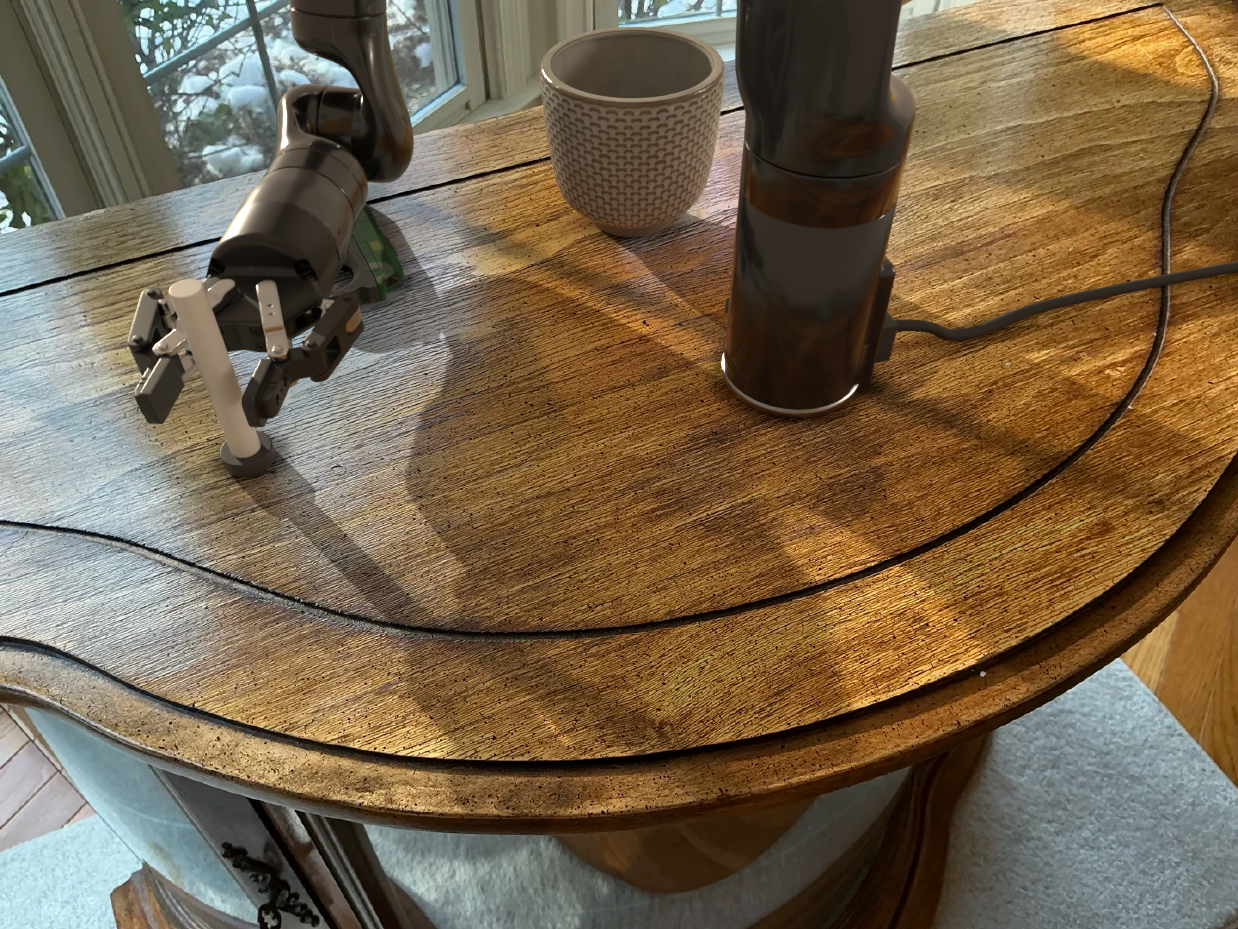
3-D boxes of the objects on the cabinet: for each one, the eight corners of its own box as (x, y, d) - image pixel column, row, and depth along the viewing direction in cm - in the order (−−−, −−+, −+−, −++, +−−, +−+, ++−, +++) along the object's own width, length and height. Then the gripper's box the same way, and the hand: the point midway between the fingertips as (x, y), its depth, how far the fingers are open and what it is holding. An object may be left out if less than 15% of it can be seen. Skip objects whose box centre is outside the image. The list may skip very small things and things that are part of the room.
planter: (577, 165, 89) (571, 17, 79) (729, 186, 86) (741, 35, 77) (525, 247, 79) (512, 90, 70) (694, 273, 76) (704, 113, 67)
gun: (238, 203, 81) (357, 177, 84) (243, 219, 82) (360, 192, 85) (278, 310, 71) (412, 275, 74) (283, 326, 72) (415, 291, 75)
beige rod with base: (272, 436, 64) (213, 265, 54) (279, 468, 62) (219, 297, 52) (220, 449, 63) (152, 278, 54) (226, 482, 61) (156, 311, 51)
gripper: (164, 195, 64) (46, 359, 52) (381, 199, 64) (312, 365, 52) (199, 290, 70) (99, 459, 58) (400, 295, 69) (341, 466, 57)
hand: (201, 413), depth 55 cm, fingers open, 5 cm apart
